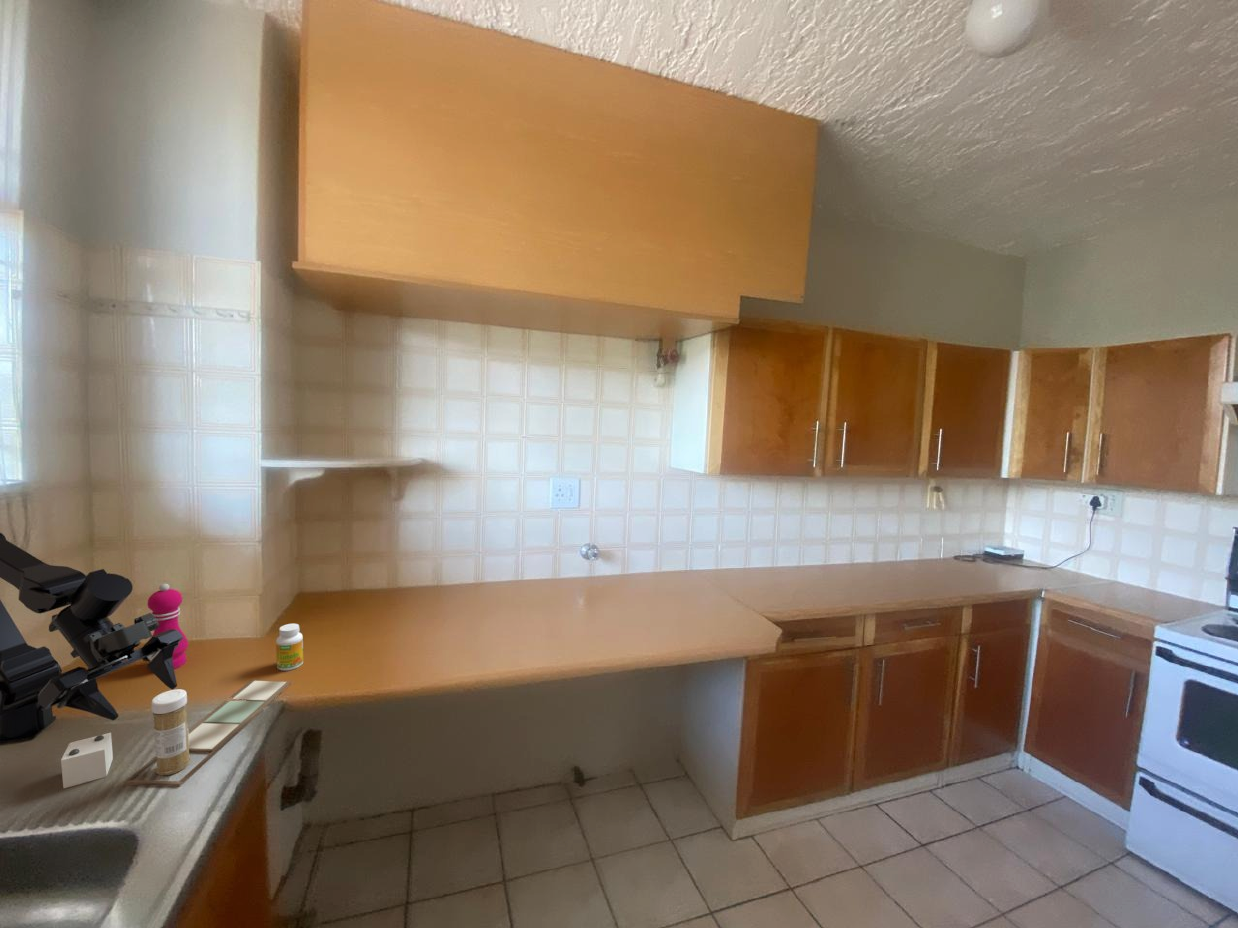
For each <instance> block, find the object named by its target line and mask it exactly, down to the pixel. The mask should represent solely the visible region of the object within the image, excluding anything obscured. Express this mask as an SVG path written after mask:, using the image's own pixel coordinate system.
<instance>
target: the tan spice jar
mask: <svg viewBox="0 0 1238 928" xmlns="http://www.w3.org/2000/svg"><path fill="white" fill-rule="evenodd" d="M187 693H188V692H187V691H186V690H184V689H180V688H179V689H178V688H177V689H176V688H175V689H173V690H172V689H170V690H166V691H163V692H161V693H160V694H157V695H156V696H155V697H153V698H152V700H151V702H150V703H151V705H150V706H151V708H150V709H151V713H152V715H153V733H154V746H155V748H154V749H155V751H154V752H155V757H156V759H157V761H156V771H155V772H156V774H157V775H160V776H170V775H174V774H176V773H179V772H180V771H182V770H184V769H185V768H186V767H187V766H189V764H190V763H191V757H190V752H189V733H188V730H189V728H188V727H189V725H188V715H187V703H188V695H187Z"/></svg>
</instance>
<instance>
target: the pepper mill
mask: <svg viewBox="0 0 1238 928" xmlns="http://www.w3.org/2000/svg"><path fill="white" fill-rule="evenodd" d="M158 589H159V590H157V591H155V592H153V593H152V594H150V596H149V598H148V600H147V608H148V609H149V610H150V611H151V612H150V613H151V614H152V615H153V616H154V617H155V618H156V619H157V621H158V623H159V628H158V629H155V630H153V633H152V637H153V636H155V635H157V634H160V633H162V632H165V631H167V630H170V629H175V630H178V631H179V632H180V633H181V634H182V636H183V637H184V638H183V639H182V640H181V641H180V642H179V645H178V647H177V648H176V649H175V650H174V652H173V667H174V670H175V669H178V668H180V667H182V666H184V665H185V664H186V663H187V653H185V652H186V650H187V649H188V647H189V642H188V638H187V636H186V635H185V633H184V632H183V631H182V629H181V627H180V625H179V616H180V614H181V608H180V607H179V606H181V604H182V603H183V595H182V593H181V592H180V591H179V590H177V589H174V588H170V585H169V584H168V583H162V584H160V585H159V588H158Z"/></svg>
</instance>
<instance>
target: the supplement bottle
mask: <svg viewBox="0 0 1238 928" xmlns="http://www.w3.org/2000/svg"><path fill="white" fill-rule="evenodd" d="M278 630H279V631H278V632H279V636H278V637H277V638H276V641H275V651H276V668H277V669H278V670H279V671H283V672H286V671H291V670H294V669H297V668H299V667H301V666H302V665H303V663H304V638H303V634H302V632H300V625H299V624H298V623H288V624H287V623H286V624H284V625H282V626H280V627H279V629H278Z"/></svg>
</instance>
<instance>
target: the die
mask: <svg viewBox="0 0 1238 928" xmlns="http://www.w3.org/2000/svg"><path fill="white" fill-rule="evenodd" d="M112 743H113V740H112V732H108V733H103V734H100V735H96V736H91V737H87V738H84V739H79V740H76V741H75V740H74V741H72V742H69V744H68V745H67V747H66V749H65V751H64V753H63V755H62V758H61V759H60V764H61V766H60V767H61V773H62V774H61V775H62V786H63V789H66V788H67V789H68V788H71V787H75V786H78V785H81V784H86V783H88V782H91V781H95V780H99V779H103V778H107V776H108V773H109V770H110V769H111V765H112V762H113V759H114V755H113V754H114V753H113V744H112Z"/></svg>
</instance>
